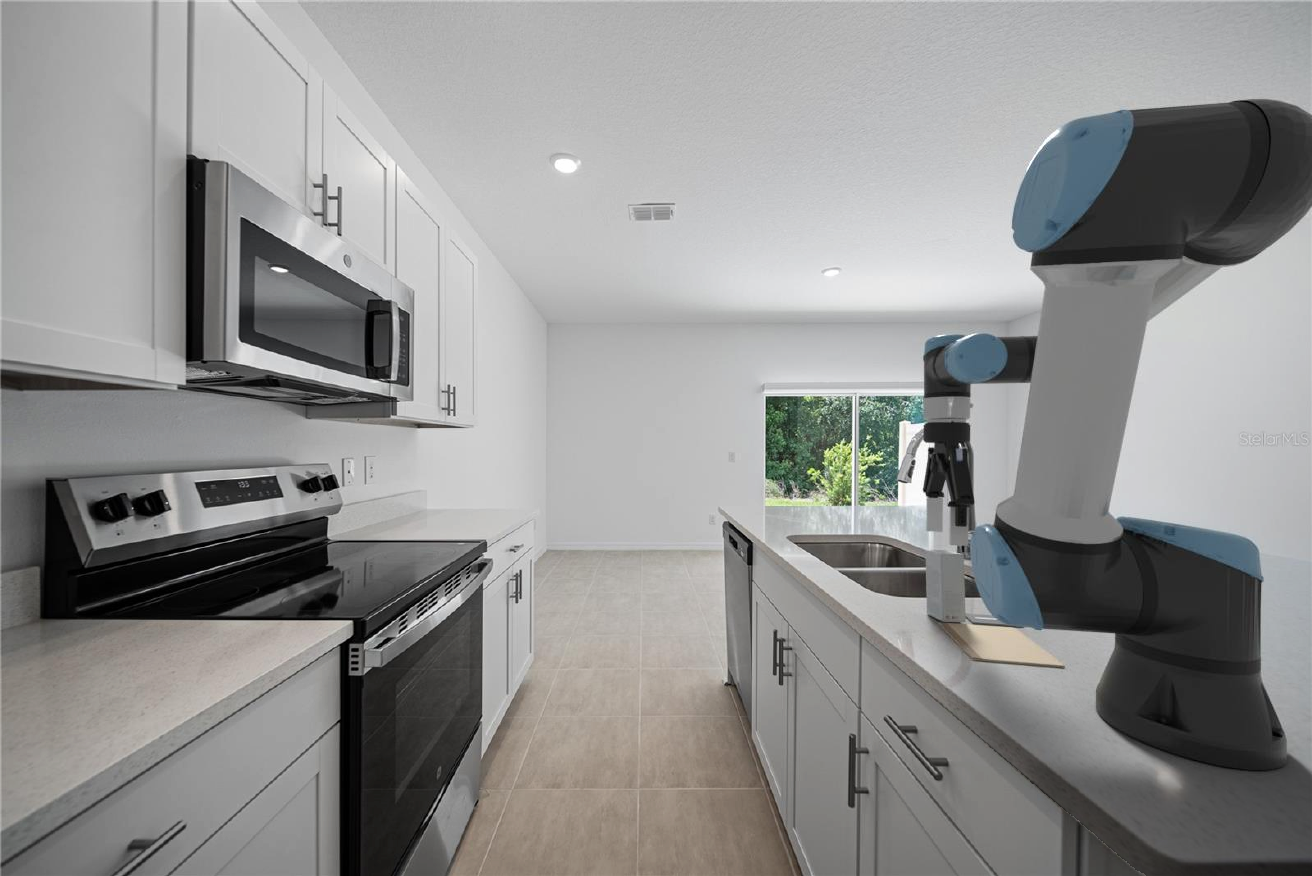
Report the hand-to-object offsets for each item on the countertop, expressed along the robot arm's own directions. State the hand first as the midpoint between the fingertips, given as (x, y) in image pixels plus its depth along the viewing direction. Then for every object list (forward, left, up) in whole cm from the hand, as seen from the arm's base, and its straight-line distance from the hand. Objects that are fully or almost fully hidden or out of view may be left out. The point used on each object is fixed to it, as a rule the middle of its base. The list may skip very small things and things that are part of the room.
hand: (945, 537), depth 97 cm
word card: (+1, -8, -15) cm, 17 cm away
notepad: (-11, -4, -15) cm, 19 cm away
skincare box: (0, 0, -15) cm, 15 cm away
